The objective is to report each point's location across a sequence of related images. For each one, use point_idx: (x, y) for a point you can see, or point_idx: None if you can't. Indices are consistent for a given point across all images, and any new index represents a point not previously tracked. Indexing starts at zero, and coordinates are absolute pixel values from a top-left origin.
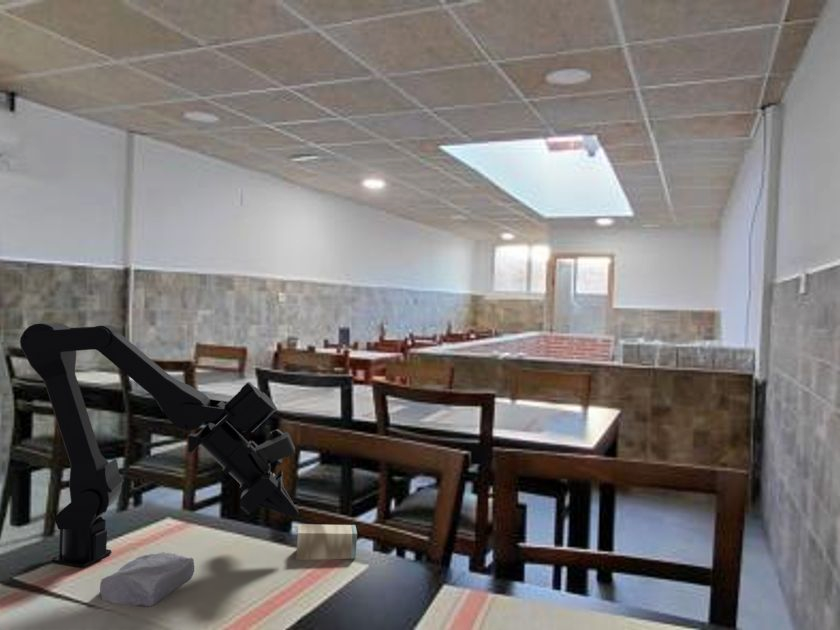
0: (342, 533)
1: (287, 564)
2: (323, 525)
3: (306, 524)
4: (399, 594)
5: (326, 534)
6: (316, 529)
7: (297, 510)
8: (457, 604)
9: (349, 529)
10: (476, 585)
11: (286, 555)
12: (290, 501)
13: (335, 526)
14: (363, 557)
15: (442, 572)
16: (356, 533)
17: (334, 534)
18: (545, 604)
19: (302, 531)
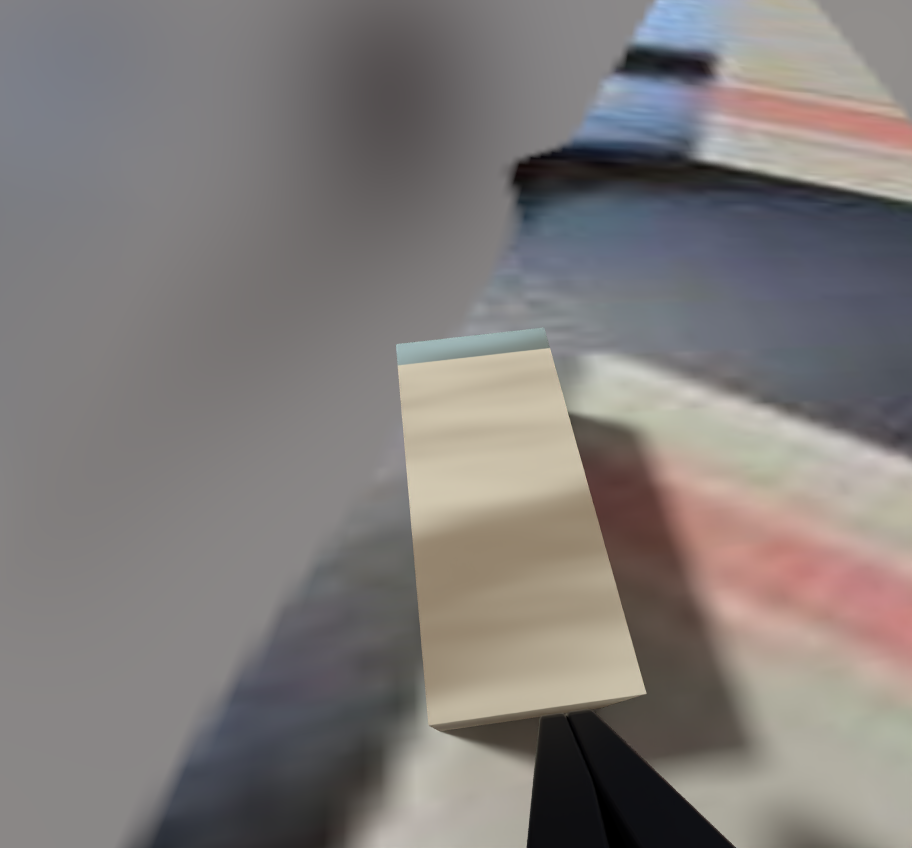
0: (560, 395)
1: (684, 756)
2: (429, 520)
3: (425, 652)
4: (823, 258)
5: (585, 486)
6: (525, 558)
7: (562, 724)
8: (820, 140)
9: (482, 366)
10: (677, 101)
11: None
12: (674, 841)
13: (438, 444)
14: None
15: (606, 158)
16: (539, 330)
17: (573, 440)
18: (739, 15)
19: (599, 661)
